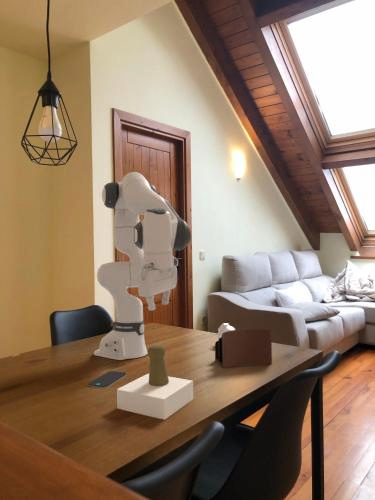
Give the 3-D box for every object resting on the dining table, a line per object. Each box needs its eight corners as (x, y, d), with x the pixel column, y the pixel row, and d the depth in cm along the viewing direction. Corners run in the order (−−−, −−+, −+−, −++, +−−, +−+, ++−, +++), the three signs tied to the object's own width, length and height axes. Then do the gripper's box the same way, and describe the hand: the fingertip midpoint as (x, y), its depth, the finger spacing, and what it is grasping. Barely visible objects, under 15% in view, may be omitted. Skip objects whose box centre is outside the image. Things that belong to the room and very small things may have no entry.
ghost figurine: (225, 341, 191) (225, 320, 191) (242, 345, 184) (241, 323, 184) (212, 345, 185) (212, 323, 184) (229, 349, 178) (229, 326, 178)
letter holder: (272, 364, 157) (272, 327, 156) (222, 368, 152) (222, 330, 152) (261, 356, 166) (261, 322, 166) (214, 361, 162) (214, 325, 162)
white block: (117, 410, 118) (116, 389, 117) (149, 391, 131) (149, 372, 131) (164, 421, 110) (164, 399, 110) (193, 400, 124) (193, 380, 123)
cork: (164, 386, 118) (161, 348, 118) (145, 385, 120) (142, 348, 120) (171, 379, 124) (169, 342, 124) (153, 378, 126) (150, 342, 126)
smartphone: (85, 384, 136) (109, 370, 150) (85, 386, 136) (109, 372, 150) (105, 386, 134) (128, 372, 148) (105, 389, 134) (128, 374, 148)
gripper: (152, 265, 114) (153, 314, 115) (180, 259, 133) (180, 302, 134) (132, 264, 117) (133, 313, 117) (162, 259, 136) (163, 301, 136)
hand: (158, 307), depth 126 cm, fingers open, 8 cm apart
